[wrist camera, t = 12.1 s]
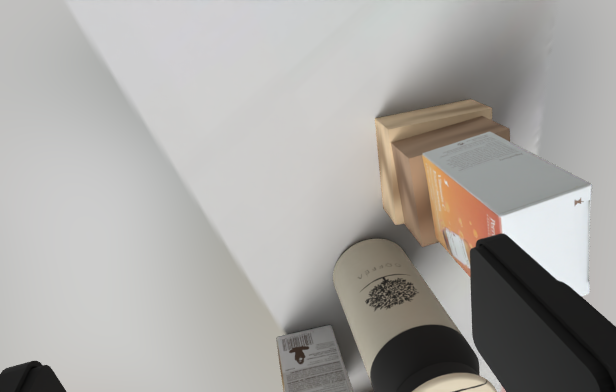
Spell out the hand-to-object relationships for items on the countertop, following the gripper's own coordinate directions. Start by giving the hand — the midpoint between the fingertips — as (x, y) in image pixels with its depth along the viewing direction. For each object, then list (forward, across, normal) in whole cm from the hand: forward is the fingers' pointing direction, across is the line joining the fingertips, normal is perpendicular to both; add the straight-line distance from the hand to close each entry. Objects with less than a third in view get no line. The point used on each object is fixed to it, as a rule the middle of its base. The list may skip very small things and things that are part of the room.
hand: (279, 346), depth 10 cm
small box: (+22, -15, +11) cm, 29 cm away
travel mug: (+30, -8, +22) cm, 38 cm away
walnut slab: (+26, -15, +11) cm, 32 cm away
